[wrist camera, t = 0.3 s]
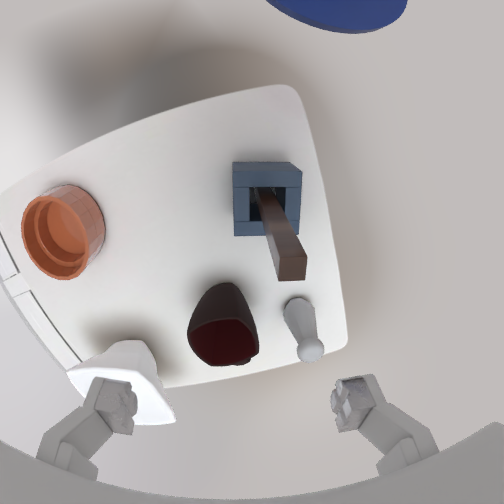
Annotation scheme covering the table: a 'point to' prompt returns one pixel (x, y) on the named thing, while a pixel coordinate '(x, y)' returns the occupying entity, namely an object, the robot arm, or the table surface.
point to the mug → (223, 328)
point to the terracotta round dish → (63, 231)
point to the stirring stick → (281, 237)
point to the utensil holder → (264, 176)
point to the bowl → (128, 379)
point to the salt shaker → (304, 329)
